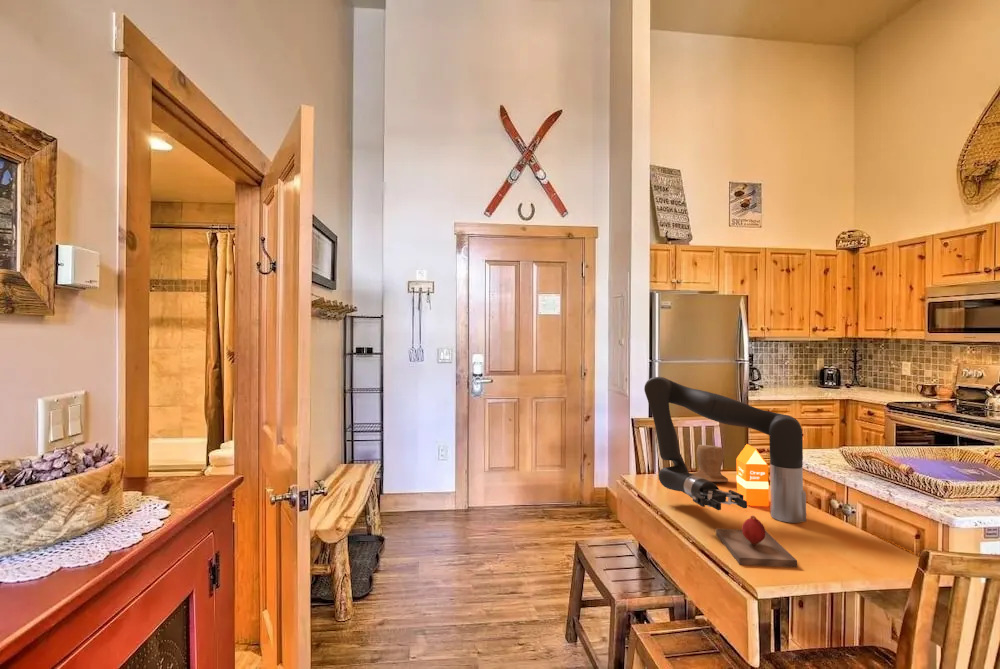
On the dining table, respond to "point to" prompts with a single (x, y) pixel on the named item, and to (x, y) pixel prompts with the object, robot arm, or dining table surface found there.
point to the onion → (753, 530)
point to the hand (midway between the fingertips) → (733, 505)
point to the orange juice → (752, 477)
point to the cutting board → (755, 550)
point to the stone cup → (710, 463)
